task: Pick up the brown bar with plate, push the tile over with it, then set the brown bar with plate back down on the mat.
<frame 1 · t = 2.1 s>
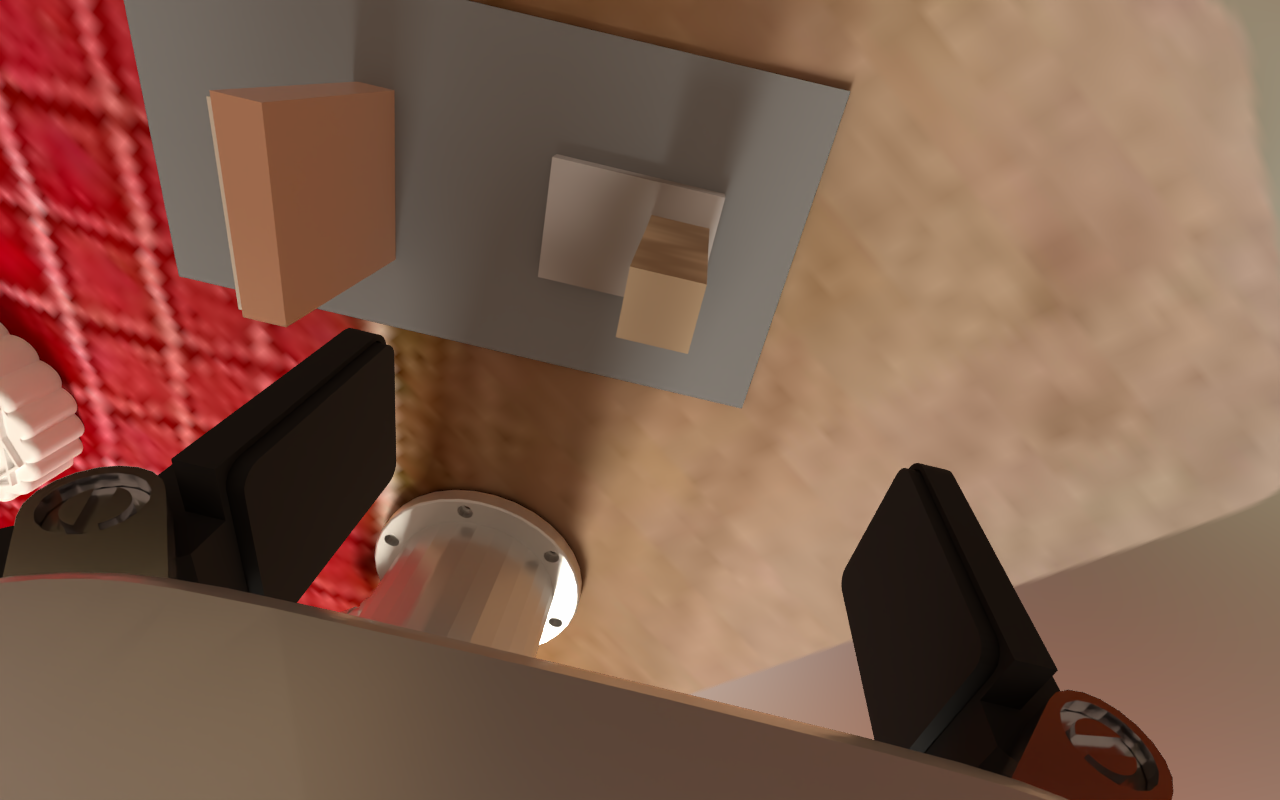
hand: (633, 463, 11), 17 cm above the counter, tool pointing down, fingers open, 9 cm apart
brown bar with plate: (674, 245, 25), resting on mat
mat: (471, 195, 26), on the counter
tile: (377, 176, 25), resting on mat
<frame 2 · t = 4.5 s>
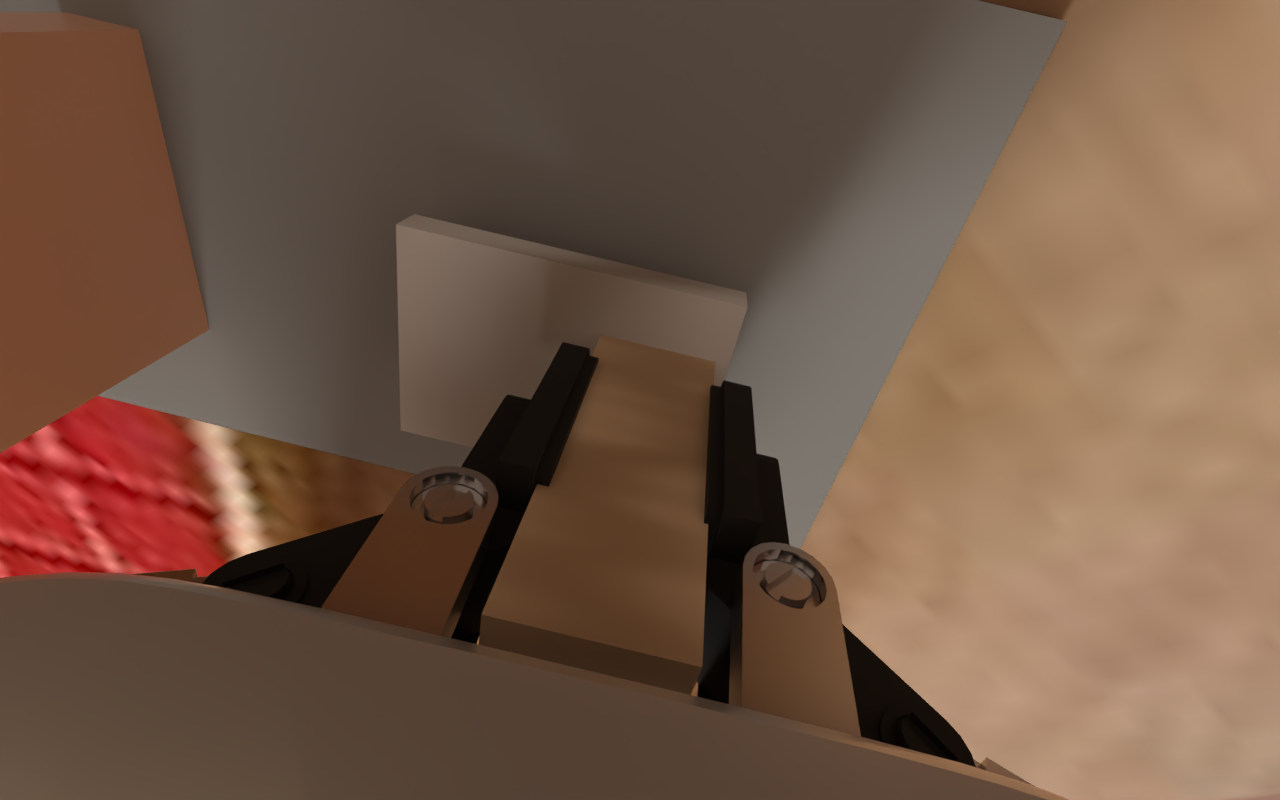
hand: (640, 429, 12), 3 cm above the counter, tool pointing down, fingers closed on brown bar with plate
brown bar with plate: (650, 378, 14), point 1 cm above the counter, touching gripper
mat: (317, 225, 14), on the counter
tile: (148, 192, 14), resting on mat
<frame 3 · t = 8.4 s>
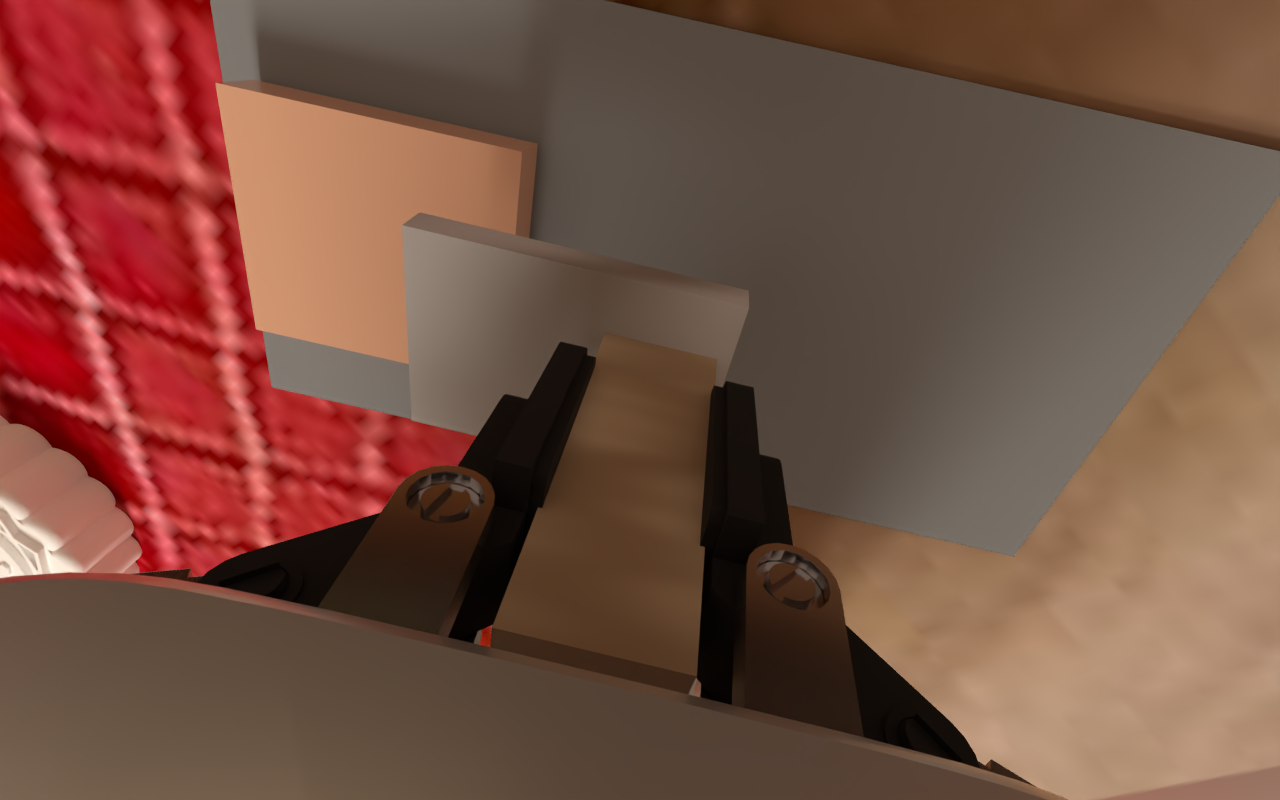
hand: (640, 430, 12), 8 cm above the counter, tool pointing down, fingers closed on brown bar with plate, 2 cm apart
brown bar with plate: (653, 372, 14), point 6 cm above the counter, touching gripper
mat: (684, 292, 19), on the counter
mooncake: (23, 501, 28), on the counter
tile: (519, 272, 18), point 1 cm above the counter, tilted 90°, touching mat
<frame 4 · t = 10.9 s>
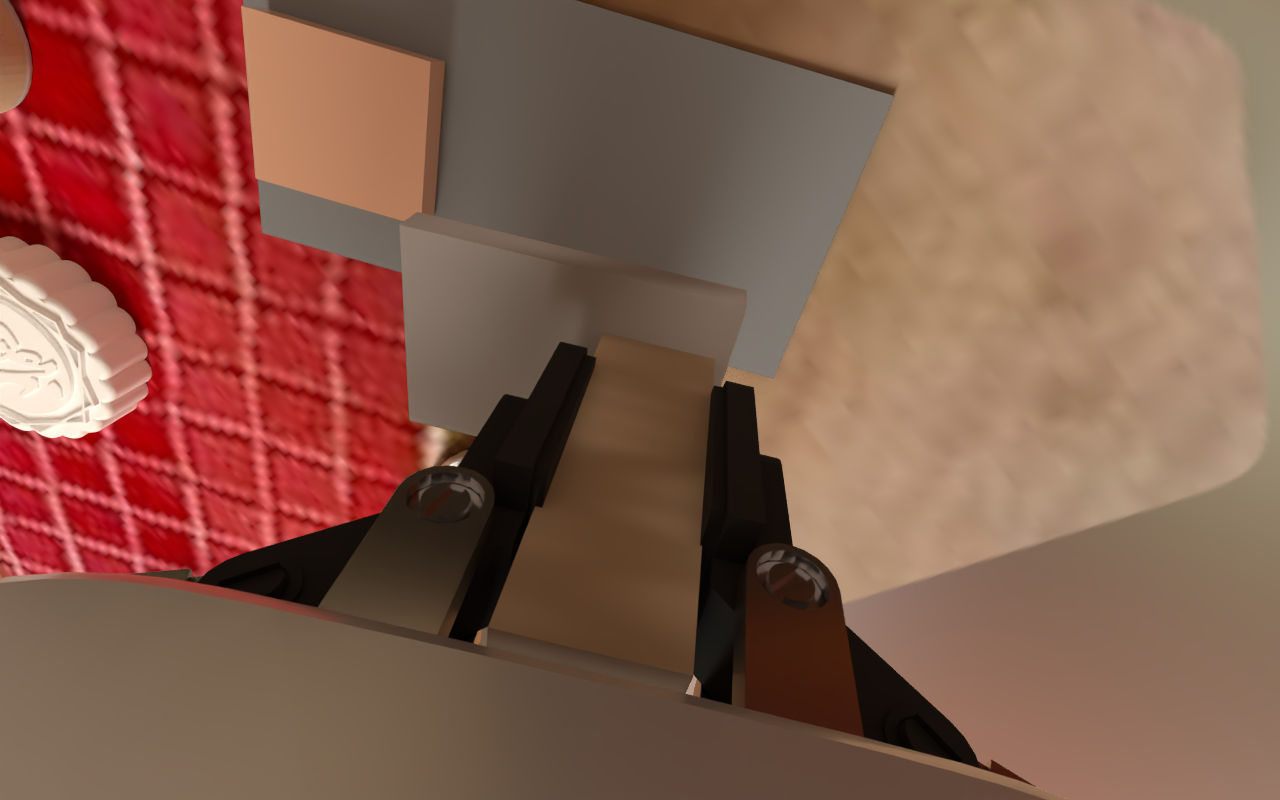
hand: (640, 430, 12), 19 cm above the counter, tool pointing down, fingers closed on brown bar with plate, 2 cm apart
brown bar with plate: (651, 372, 14), point 17 cm above the counter, tilted 5°, touching gripper
mat: (543, 171, 28), on the counter
mooncake: (61, 330, 37), on the counter
tile: (432, 147, 27), point 1 cm above the counter, tilted 90°, touching mat
when the fingers open (4 cm above the counter, at t = 13.1 s): brown bar with plate drops 1 cm, resting on mat.
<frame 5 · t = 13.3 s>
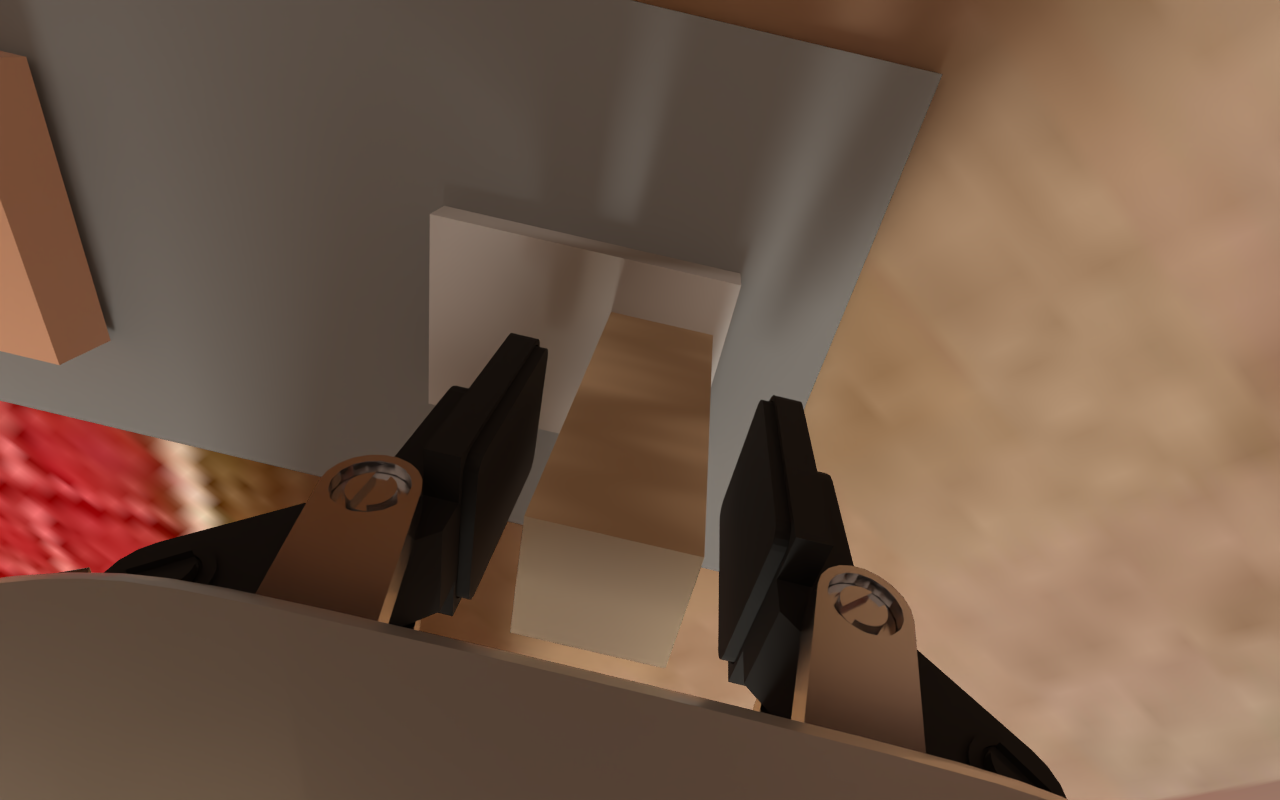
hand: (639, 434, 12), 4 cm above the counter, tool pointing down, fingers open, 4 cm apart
brown bar with plate: (654, 353, 15), resting on mat
mat: (277, 252, 15), on the counter
tile: (44, 223, 14), point 1 cm above the counter, tilted 90°, touching mat
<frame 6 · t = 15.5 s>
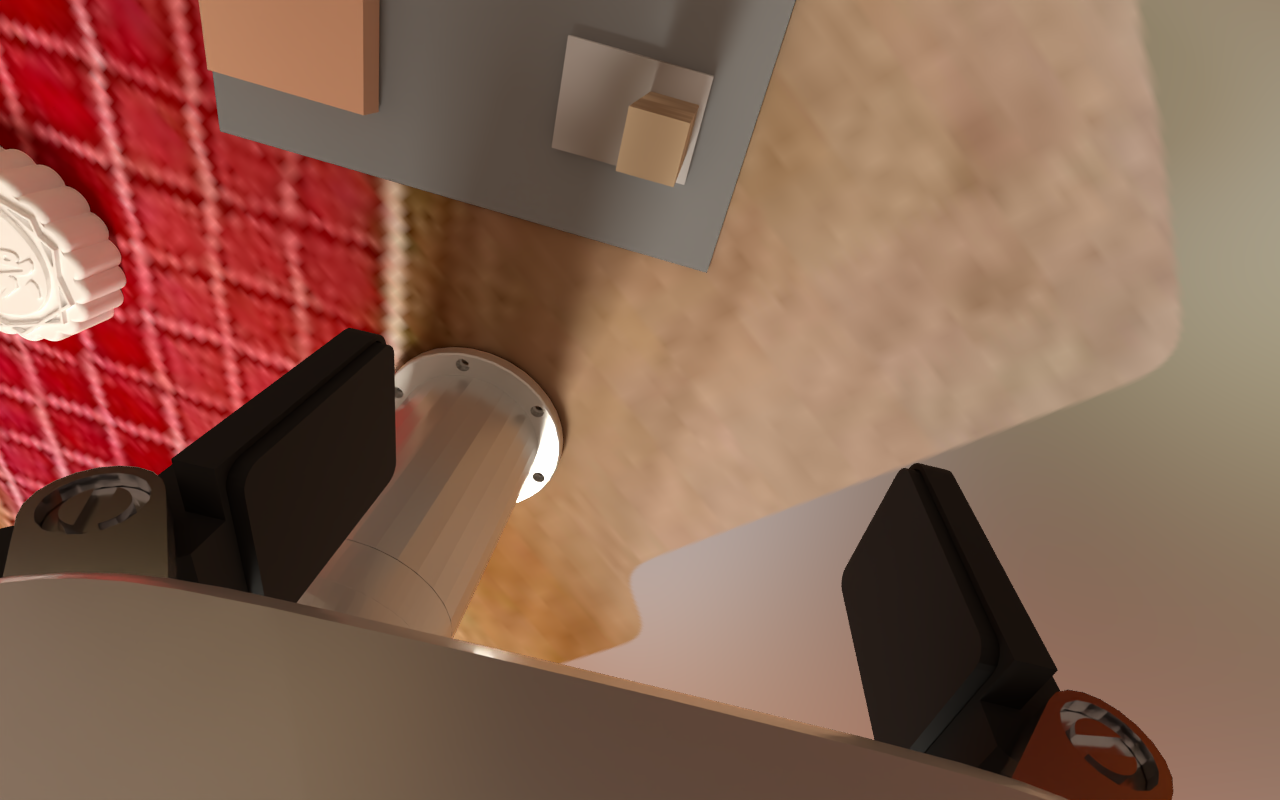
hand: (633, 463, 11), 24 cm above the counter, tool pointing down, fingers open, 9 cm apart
brown bar with plate: (670, 122, 30), resting on mat
mat: (479, 62, 30), on the counter
mooncake: (40, 238, 39), on the counter
tile: (371, 35, 29), point 1 cm above the counter, tilted 90°, touching mat
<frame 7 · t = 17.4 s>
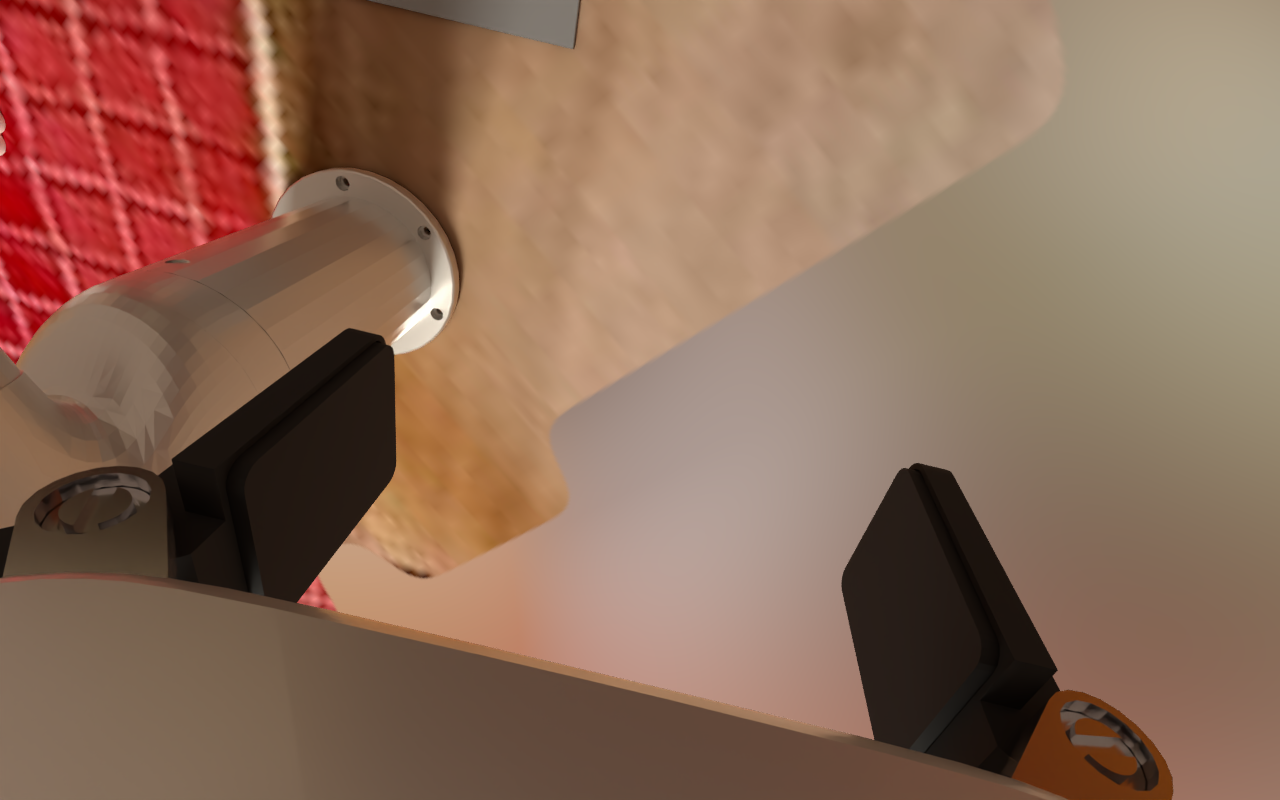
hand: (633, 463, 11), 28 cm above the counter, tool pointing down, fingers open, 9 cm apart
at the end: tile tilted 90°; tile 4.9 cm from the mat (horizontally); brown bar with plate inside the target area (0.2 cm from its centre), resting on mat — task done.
